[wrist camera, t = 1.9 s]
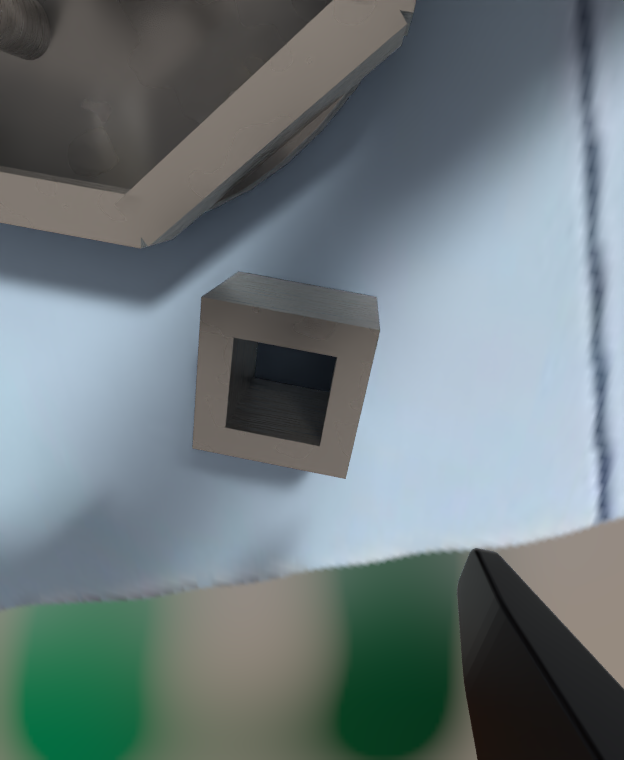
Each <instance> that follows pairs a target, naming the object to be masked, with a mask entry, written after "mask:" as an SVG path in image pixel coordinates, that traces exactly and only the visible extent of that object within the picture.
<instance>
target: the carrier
mask: <svg viewBox="0 0 624 760" xmlns="http://www.w3.org/2000/svg"><path fill="white" fill-rule="evenodd" d="M415 3H416V0H0V223H5V224H10V225H16V226H21V227H27V228H32V229H38V230H43V231H48V232H54V233H59V234H65V235H70V236H76V237H81V238H87V239H92V240H97V241H103V242H108V243H114V244H119V245H125V246H130V247H135V248H144V247H149V246H152V245H156V244H159V243H163V242H166V241H170V240H173V239H174V238H175V237H176V236H178V235H179V234H180V233H181V232H182V231H183V230H185V229H186V228H187V227H188V226H189V225H191V224H192V223H193V222H194V221H195V220H196V219H198V218H199V217H200V216H201V215H202V214H204V213H205V212H206V211H209V210H212V209H215V208H217V207H219V206H221V205H223V204H224V203H226V202H228V201H230V200H232V199H234V198H236V197H238V196H240V195H242V194H244V193H246V192H248V191H250V190H251V189H253V188H254V187H256V186H257V185H259V184H260V183H261V182H263V181H264V180H266V179H267V178H268V177H270V176H271V175H273V174H274V173H275V172H277V171H278V170H279V169H281V168H282V167H284V166H285V165H286V164H288V163H289V162H290V161H291V160H292V159H293V158H294V157H295V156H296V155H297V154H298V153H299V152H300V151H302V150H303V149H304V148H305V147H306V146H307V145H308V144H309V143H310V142H311V141H312V140H313V139H314V138H315V137H316V136H317V135H318V134H319V133H320V132H322V131H323V129H324V128H325V127H326V126H327V124H328V123H329V122H330V121H331V120H332V118H333V117H334V116H335V115H336V113H337V112H338V111H339V110H340V108H341V107H342V106H343V105H344V104H345V102H346V101H347V100H348V99H349V97H350V96H351V95H352V94H353V92H354V91H355V90H356V88H357V87H358V85H359V84H360V82H361V80H362V79H363V78H364V77H365V76H366V75H368V74H369V73H370V72H371V71H372V70H374V69H375V68H376V67H377V66H378V65H379V64H381V63H382V62H383V61H384V60H385V59H386V58H388V57H389V56H390V55H391V54H392V53H394V52H395V51H396V50H397V49H398V48H399V47H401V46H402V42H403V38H404V36H407V34H408V31H409V27H410V24H411V20H412V16H413V13H414V8H415Z"/></svg>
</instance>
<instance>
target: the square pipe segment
mask: <svg viewBox="0 0 624 760" xmlns="http://www.w3.org/2000/svg"><path fill="white" fill-rule="evenodd" d="M379 333H380V324H379V314H378V304H377V297H375V296H369V295H364V294H358V293H353V292H347V291H342V290H337V289H331V288H326V287H320V286H315V285H310V284H304V283H299V282H293V281H288V280H282V279H277V278H272V277H266V276H261V275H255V274H250V273H244V272H237V273H236V274H234V275H233V276H231V277H230V278H228V279H227V280H225V281H224V282H222V283H221V284H220V285H218V286H217V287H215V288H214V289H212V290H211V291H209V292H208V293H206V294H205V295H203V296H202V297H201V313H200V330H199V347H198V364H197V381H196V398H195V415H194V431H193V449H198V450H203V451H208V452H213V453H218V454H223V455H228V456H233V457H238V458H243V459H248V460H253V461H258V462H264V463H269V464H274V465H279V466H284V467H289V468H294V469H299V470H304V471H309V472H314V473H319V474H324V475H329V476H334V477H339V478H344V479H346V475H347V470H348V466H349V462H350V457H351V453H352V449H353V445H354V440H355V436H356V432H357V427H358V423H359V419H360V414H361V410H362V406H363V402H364V397H365V393H366V389H367V384H368V380H369V376H370V371H371V367H372V363H373V359H374V354H375V350H376V346H377V341H378V337H379ZM258 342H260V343H265V344H271V345H276V346H281V347H287V348H292V349H297V350H302V351H308V352H313V353H318V354H323V355H329V356H334V357H336V360H335V366H334V371H333V376H332V381H331V386H330V391H329V392H326V391H321V390H316V389H311V388H306V387H300V386H295V385H290V384H285V383H280V382H274V381H269V380H264V379H259V378H254V375H255V367H256V358H257V350H258Z"/></svg>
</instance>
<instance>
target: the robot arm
mask: <svg viewBox="0 0 624 760" xmlns="http://www.w3.org/2000/svg"><path fill="white" fill-rule="evenodd" d="M457 597H458V611H459V625H460V638H461V651H462V665H463V676H464V684H465V691H466V698H467V703H468V708H469V715H470V720H471V726H472V731H473V737H474V742H475V748H476V754H477V759H478V760H624V689H623V688H622V687H621V686H620V684H619V683H618V682H617V681H616V680H615V679H614V678H613V677H612V676H611V675H610V674H609V673H608V671H606V669H605V668H604V667H603V666H602V665H601V664H600V663H599V662H598V661H597V660H596V659H595V657H594V656H593V655H592V654H591V653H590V652H589V651H588V650H587V649H586V648H585V647H584V646H583V645H582V644H581V642H580V641H579V640H578V639H577V638H576V637H575V636H574V635H573V634H572V633H571V632H570V631H569V630H568V628H567V627H566V626H565V625H564V624H563V623H562V622H561V621H560V620H559V619H558V618H557V616H556V615H554V613H553V612H552V611H551V610H550V609H549V608H548V607H547V606H546V605H545V604H544V603H543V601H542V600H541V599H540V598H539V597H538V596H537V595H536V594H535V593H534V592H533V591H532V590H531V589H530V587H529V586H528V585H527V584H526V583H525V582H524V581H523V580H522V579H521V578H520V577H519V576H518V574H517V573H516V572H515V571H514V570H513V569H512V568H511V567H510V566H509V565H508V564H507V563H506V562H505V560H504V559H503V558H502V557H501V556H499V554H498V553H496V552H493V551H489V550H484V549H479V548H475V549H473V550H472V551H471V552H470V554H469V556H468V559H467V561H466V563H465V566H464V569H463V571H462V573H461V576H460V578H459V581H458V588H457Z"/></svg>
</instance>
